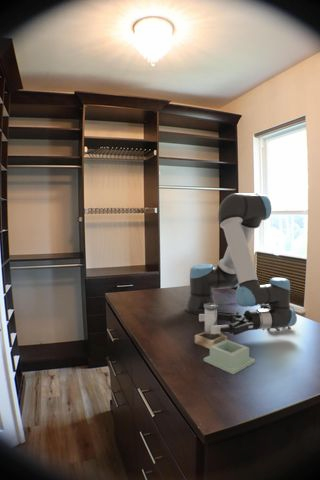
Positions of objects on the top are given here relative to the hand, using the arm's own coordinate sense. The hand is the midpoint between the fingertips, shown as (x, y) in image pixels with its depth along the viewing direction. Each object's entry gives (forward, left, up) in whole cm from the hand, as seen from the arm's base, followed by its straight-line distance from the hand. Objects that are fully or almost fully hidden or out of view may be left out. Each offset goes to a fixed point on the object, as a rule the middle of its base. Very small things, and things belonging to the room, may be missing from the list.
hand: (204, 323), depth 120 cm
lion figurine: (+11, +37, -8) cm, 39 cm away
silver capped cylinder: (+1, +2, -8) cm, 8 cm away
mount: (+1, +2, -8) cm, 8 cm away
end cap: (+2, +43, -8) cm, 44 cm away
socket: (+15, -5, -8) cm, 18 cm away
